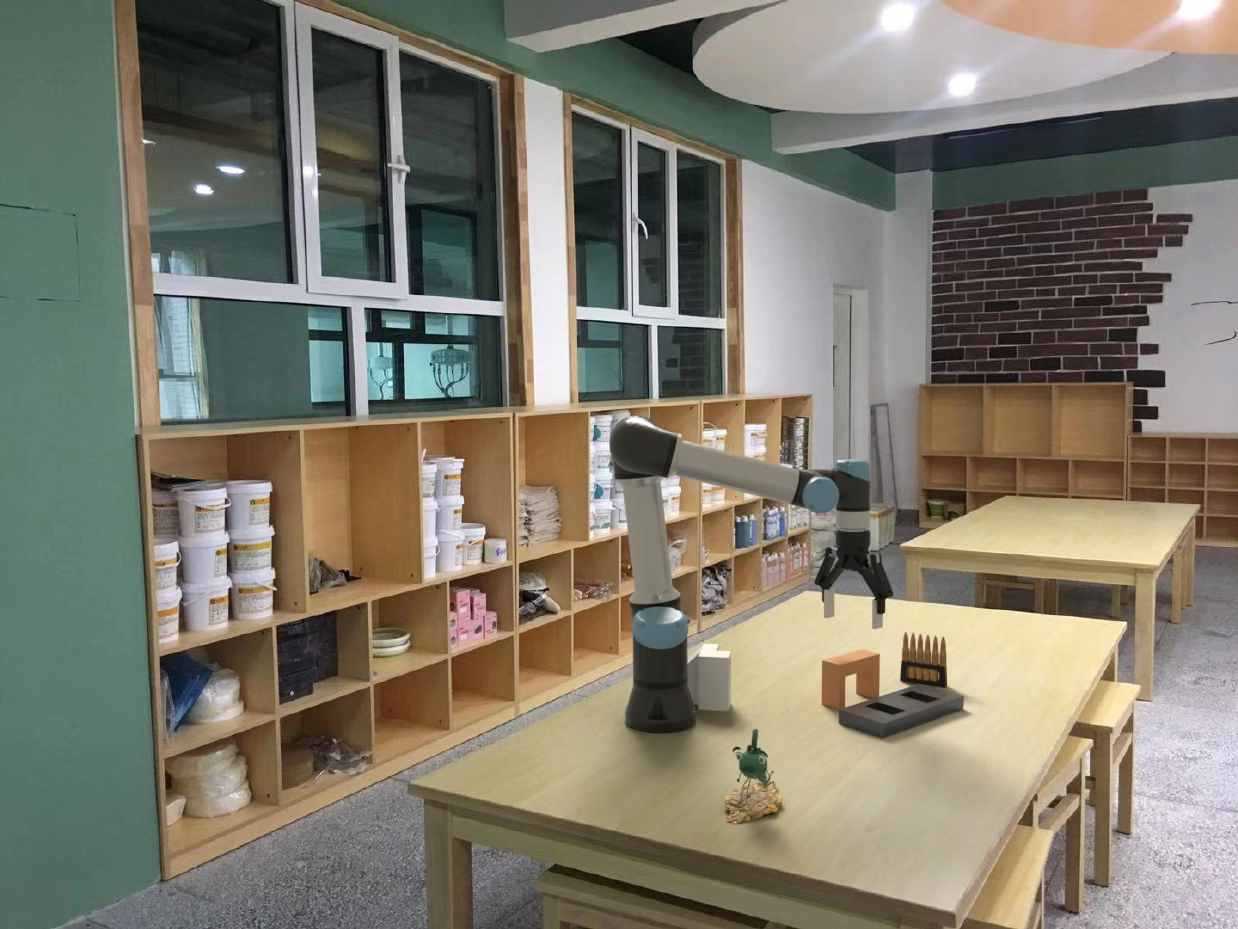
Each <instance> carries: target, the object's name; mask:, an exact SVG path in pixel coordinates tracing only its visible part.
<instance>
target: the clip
mask: <svg viewBox="0 0 1238 929" xmlns="http://www.w3.org/2000/svg"><path fill="white" fill-rule="evenodd" d="M880 662H881V654H880V653H878V652H874V651H870V650H866V649H863V648H862V649H859V650H854V651H850V652H847V653H843V654H841V655H840V654H839V655H836V656H832V657H829V658H826V659H822V660H821V705H825V706H827V707H829V708H832V709H836V710H839V709H842V708H845V707H846V677H849V676H853V675H856V676H855V680H856V681H855V694H857V695H861V696H864V697H868V698H870V699H873V698H876V697H879V696H880V675H881V673H880V670H881V667H880V666H881V664H880Z"/></svg>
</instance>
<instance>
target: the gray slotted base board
mask: <svg viewBox="0 0 1238 929" xmlns="http://www.w3.org/2000/svg"><path fill="white" fill-rule="evenodd" d="M964 698H965V696H964V695H961V694H958V693H954V692H952V691H951V692H950V691H947V690H944V689H941V688H938V687H934V686H927V685H922V684H915V685H910V686H908V687H904V688H901V689H898V690H895V691H893V692H889V693H885V694H883V695H879V697H876V698H870V699H867V700H864V701H861V702H859V703H855V704H852V705H849V706H845V708H842V709H838V724H840V725H843V726H846V727H847V728H848V727H849V728H852V729H855V730H857V731H858V730H859V731H860V732H864V733H867V734H871V735H873V736H877V737H879V738H882V739H885V738H888V737H890V736H893V735H896V734H899V733H901V732H904V731H907V730H910V729H913V728H915V727H918V726H921V725H923V724H926V723H929V722H932V721H934V720H937V719H940V718H943V717H946V716H949V715H952V714H954V713H956V712H959V711H962V710H964V707H965V706H964V702H965V699H964Z"/></svg>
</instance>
